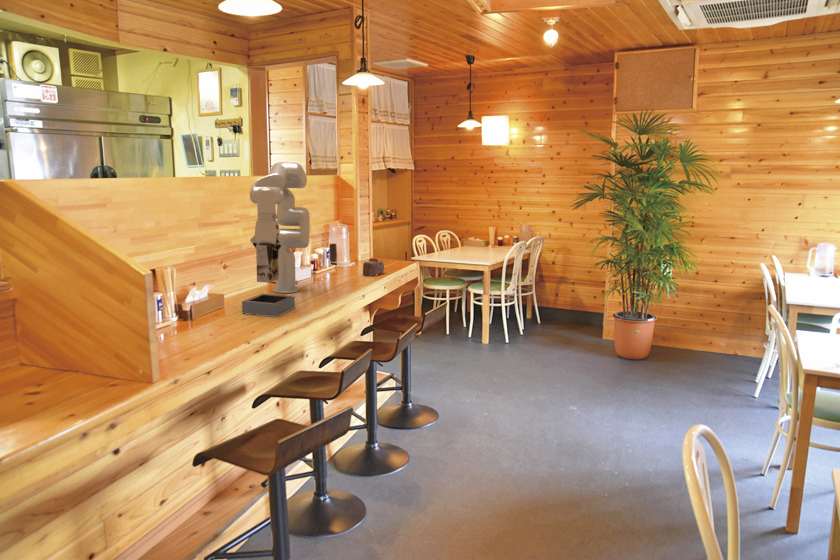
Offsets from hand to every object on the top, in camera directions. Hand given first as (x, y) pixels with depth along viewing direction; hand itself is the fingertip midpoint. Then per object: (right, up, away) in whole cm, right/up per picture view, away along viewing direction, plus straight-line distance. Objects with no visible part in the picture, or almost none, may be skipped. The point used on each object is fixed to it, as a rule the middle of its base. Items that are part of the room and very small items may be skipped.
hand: (267, 258), depth 253 cm
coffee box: (0, -10, +2) cm, 10 cm away
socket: (-1, -23, +5) cm, 23 cm away
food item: (+38, -6, +93) cm, 101 cm away
